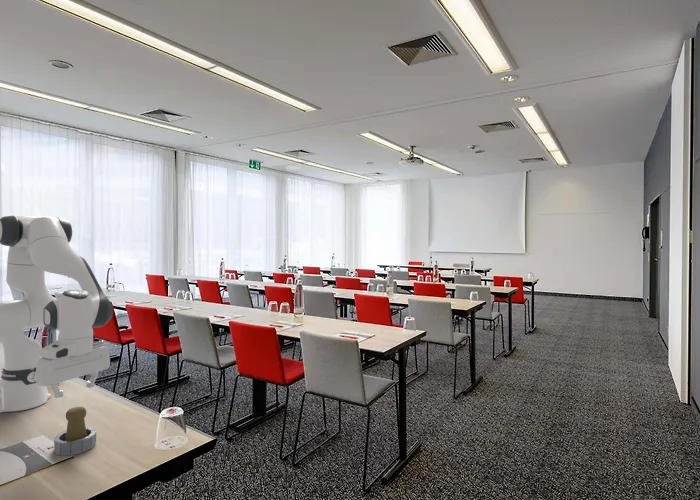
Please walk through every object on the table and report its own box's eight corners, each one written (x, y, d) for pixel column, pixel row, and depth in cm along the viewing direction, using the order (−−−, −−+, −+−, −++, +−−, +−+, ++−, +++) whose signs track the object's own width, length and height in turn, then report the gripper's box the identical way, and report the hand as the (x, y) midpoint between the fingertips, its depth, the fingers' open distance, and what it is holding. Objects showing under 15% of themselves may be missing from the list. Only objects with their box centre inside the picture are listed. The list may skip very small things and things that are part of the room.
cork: (75, 451, 124) (75, 413, 124) (58, 448, 126) (58, 410, 126) (92, 441, 130) (92, 405, 130) (76, 439, 132) (76, 403, 132)
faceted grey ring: (46, 450, 126) (46, 438, 126) (81, 436, 135) (81, 424, 135) (68, 458, 121) (68, 446, 121) (103, 443, 131) (103, 431, 131)
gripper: (101, 337, 138) (101, 379, 139) (32, 351, 120) (31, 400, 120) (115, 339, 136) (114, 383, 136) (46, 355, 117) (45, 405, 118)
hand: (75, 391), depth 128 cm, fingers open, 8 cm apart
